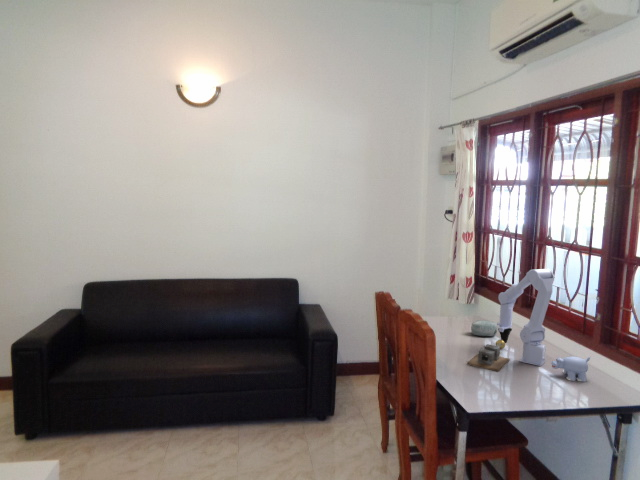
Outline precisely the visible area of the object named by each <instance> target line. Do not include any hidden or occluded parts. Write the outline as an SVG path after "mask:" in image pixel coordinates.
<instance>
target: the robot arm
mask: <svg viewBox="0 0 640 480" xmlns="http://www.w3.org/2000/svg"><path fill="white" fill-rule="evenodd" d="M525 274H526V275H525V276H524V277H523V278H521V280H520V281H519V282H518V283H512V284H510V285H511V286H510V287H509V288H508V289H506V290H505V291H504V292H503V291H502V292H500V293H498V302H499V303H500V306H499V307H500V310H499V322H497V323H496V325H497V326H498V327H497V332H499V336H500V340H503V341H504V342H505V344H507V343H508V340H509V338H510V337H509V336H510V334H511V332H512V330H513V323H512V322H513V312H514V311H513V310H514V309H513V308H514V307H515V303H516V302H517V299H518V298H519V297H520V296H521V295H522V294H524V290H525V289H526V288H527V287H529V286H530V285H532V287H533V288H534V289H535V290H537V295H536V298H535V300H534V301H535V302H534V305H533V308H532V311H531V314H530V318H529V321H528V322H527V323H526V324H524V326H523V328H522V329H521V330H520V331H519V337H520V340H521V341H522V343H523V344H522V357H521V358H520V359H519V362H520V363H526V364H530V365H534V366H538V367H542V366H543V364H544V363H545V362H546V347H547V346H546V345H545V344H542V342H543V341H544V340H545V338H546V333H545V332H546V327H544V325H543V324H544V320H545V317H546V314H547V311H548V307H549V304H550V301H551V297H552V294H553V284H554V281H555V278H556V277H555V275H554V273H553V271H552V270H551V269H550V268H548V267H547V268H538V269H534V268H533V269H530V270H528V271H527V272H526V273H525Z"/></svg>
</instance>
